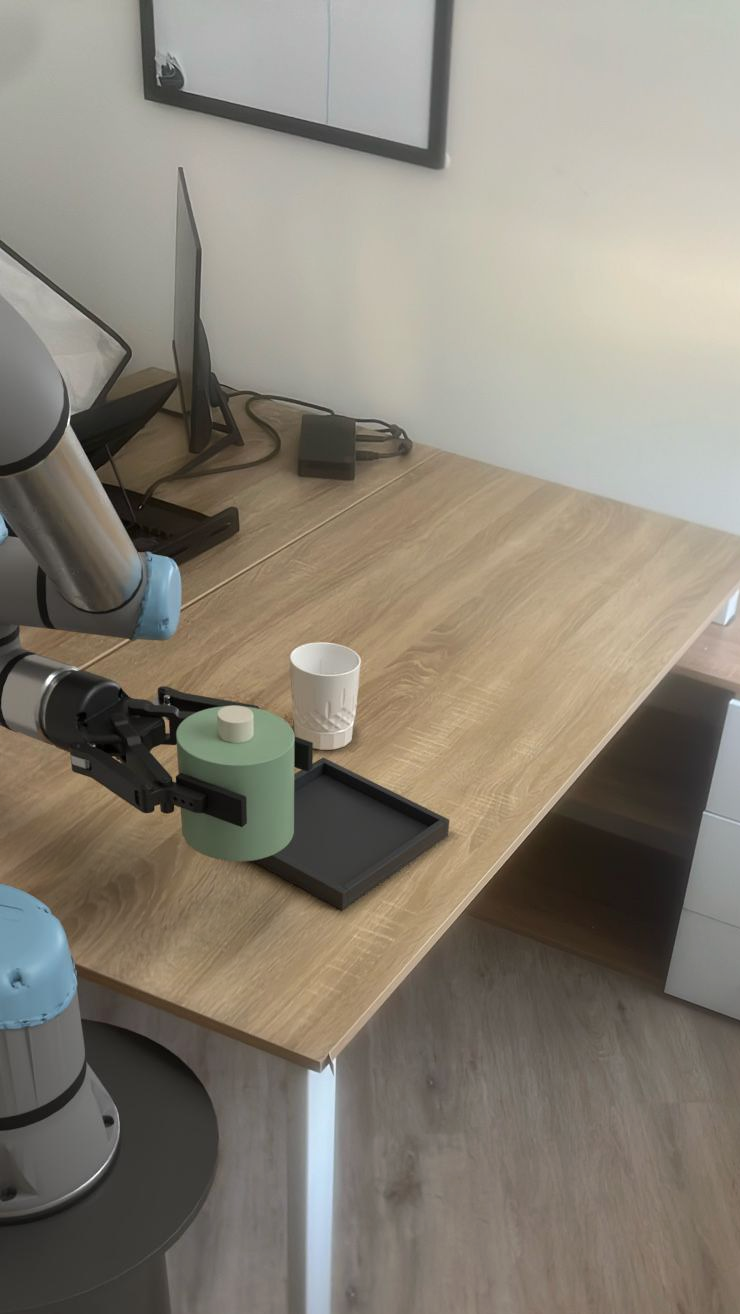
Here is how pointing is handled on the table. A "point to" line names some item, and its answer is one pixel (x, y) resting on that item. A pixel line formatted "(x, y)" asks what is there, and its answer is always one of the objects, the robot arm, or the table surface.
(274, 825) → the cover
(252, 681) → the table surface
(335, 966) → the table surface
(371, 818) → the tray
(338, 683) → the white cup
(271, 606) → the table surface
